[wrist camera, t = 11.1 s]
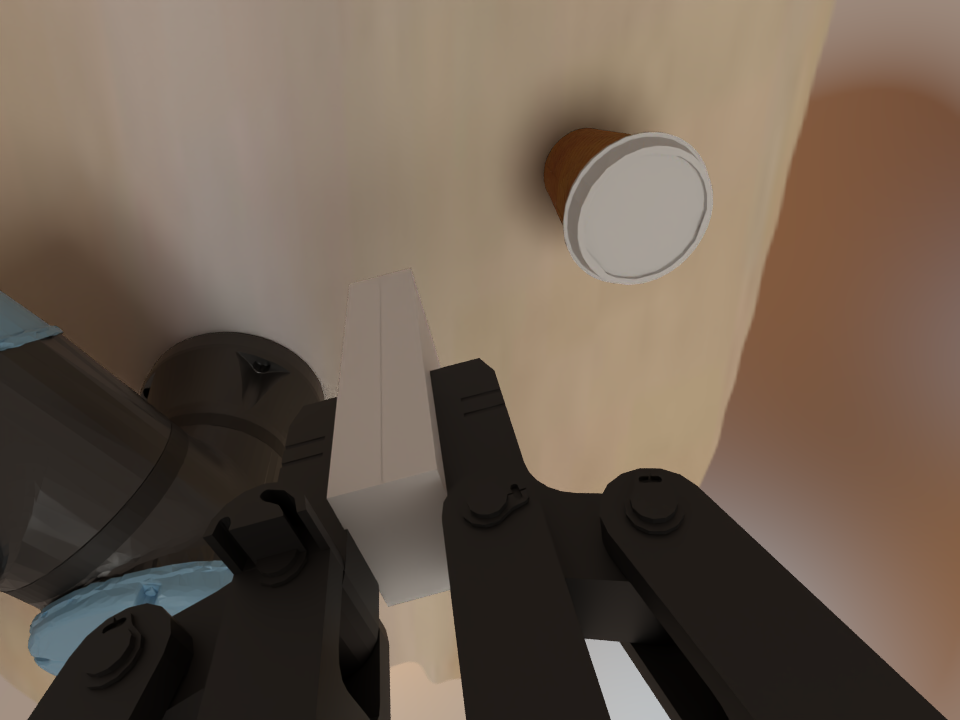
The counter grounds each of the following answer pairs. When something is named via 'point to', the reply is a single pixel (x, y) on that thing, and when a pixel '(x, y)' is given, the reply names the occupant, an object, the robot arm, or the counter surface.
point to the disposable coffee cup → (628, 202)
